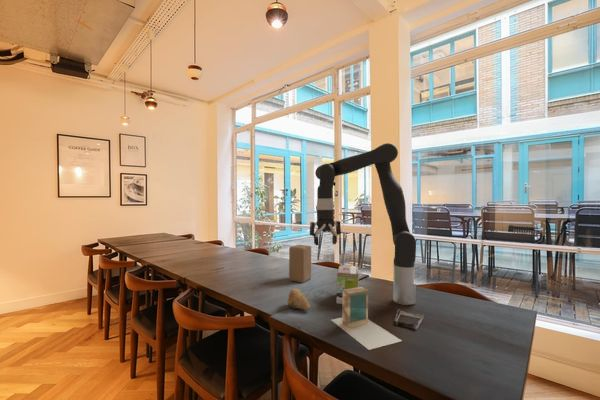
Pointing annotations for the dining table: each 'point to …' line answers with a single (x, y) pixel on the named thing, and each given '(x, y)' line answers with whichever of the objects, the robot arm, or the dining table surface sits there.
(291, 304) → the seashell
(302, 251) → the wooden block
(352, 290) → the maple slab
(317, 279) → the dining table surface
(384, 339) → the felt mat
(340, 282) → the tea box
